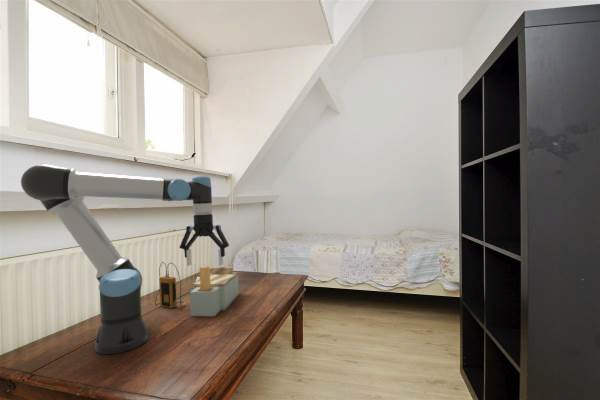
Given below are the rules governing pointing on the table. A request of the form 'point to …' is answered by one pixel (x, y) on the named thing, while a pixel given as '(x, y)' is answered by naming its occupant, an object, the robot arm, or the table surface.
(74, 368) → the table surface
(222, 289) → the toolbox
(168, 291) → the multimeter
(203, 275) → the long wooden block
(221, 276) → the lid
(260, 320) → the table surface
